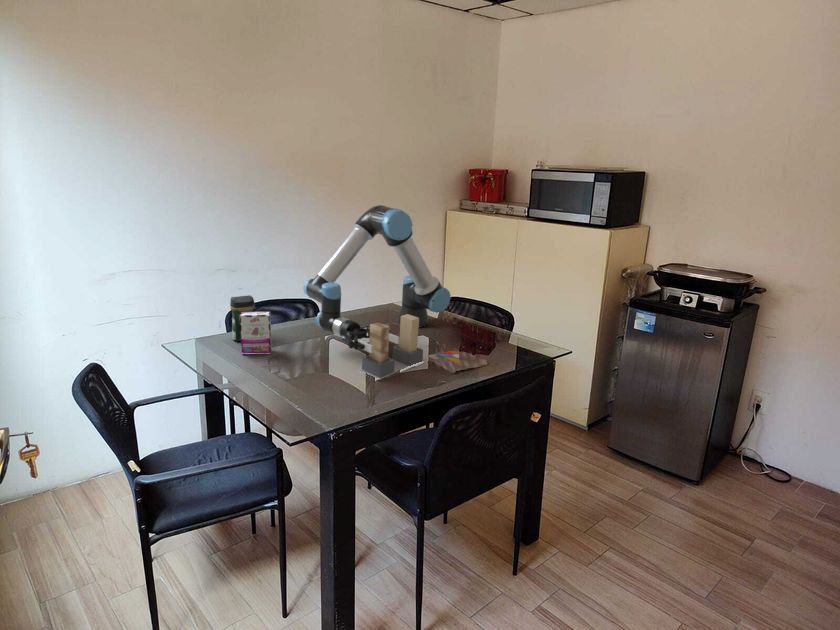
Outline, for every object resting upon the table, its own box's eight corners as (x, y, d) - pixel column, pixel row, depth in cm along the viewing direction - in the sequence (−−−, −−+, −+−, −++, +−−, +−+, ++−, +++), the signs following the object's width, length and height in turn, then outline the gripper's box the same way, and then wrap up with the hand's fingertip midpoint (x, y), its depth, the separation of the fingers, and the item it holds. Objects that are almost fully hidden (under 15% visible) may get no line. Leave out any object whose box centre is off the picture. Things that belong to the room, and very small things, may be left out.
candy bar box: (271, 349, 222) (270, 311, 217) (271, 354, 218) (270, 315, 212) (242, 350, 220) (241, 311, 215) (241, 355, 215) (239, 315, 210)
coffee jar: (253, 334, 237) (251, 292, 231) (258, 340, 231) (256, 297, 225) (229, 337, 232) (227, 294, 226) (234, 343, 226) (232, 300, 220)
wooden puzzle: (489, 366, 222) (490, 357, 221) (454, 376, 211) (454, 367, 210) (460, 351, 235) (460, 343, 234) (425, 360, 224) (426, 352, 222)
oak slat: (376, 366, 210) (377, 322, 205) (387, 372, 207) (389, 326, 201) (368, 369, 207) (370, 324, 202) (379, 374, 204) (381, 329, 198)
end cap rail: (405, 355, 225) (408, 311, 219) (424, 363, 219) (427, 318, 213) (359, 372, 207) (361, 324, 201) (378, 381, 201) (380, 332, 195)
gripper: (370, 331, 225) (408, 346, 211) (321, 345, 207) (359, 363, 194) (370, 313, 222) (409, 327, 209) (321, 326, 204) (360, 343, 191)
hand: (385, 344), depth 201 cm, fingers open, 13 cm apart
